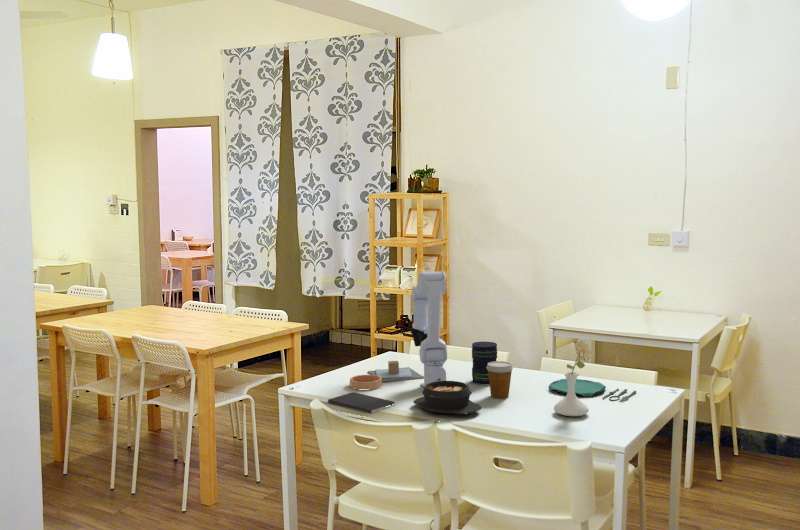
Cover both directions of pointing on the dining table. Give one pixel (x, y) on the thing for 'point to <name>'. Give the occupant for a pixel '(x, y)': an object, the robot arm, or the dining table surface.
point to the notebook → (361, 402)
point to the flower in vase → (571, 402)
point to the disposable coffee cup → (499, 378)
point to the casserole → (447, 398)
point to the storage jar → (482, 361)
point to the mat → (414, 376)
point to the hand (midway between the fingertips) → (420, 347)
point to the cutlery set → (586, 388)
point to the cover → (393, 371)
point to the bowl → (365, 382)
